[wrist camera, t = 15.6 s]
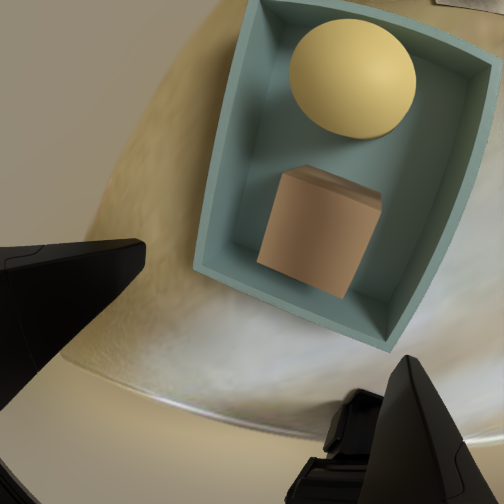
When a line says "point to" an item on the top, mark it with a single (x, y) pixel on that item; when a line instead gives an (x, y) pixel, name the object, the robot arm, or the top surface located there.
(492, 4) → the condiment
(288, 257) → the walnut cube
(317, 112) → the yellow teardrop shape
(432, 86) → the tote
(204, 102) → the top surface
